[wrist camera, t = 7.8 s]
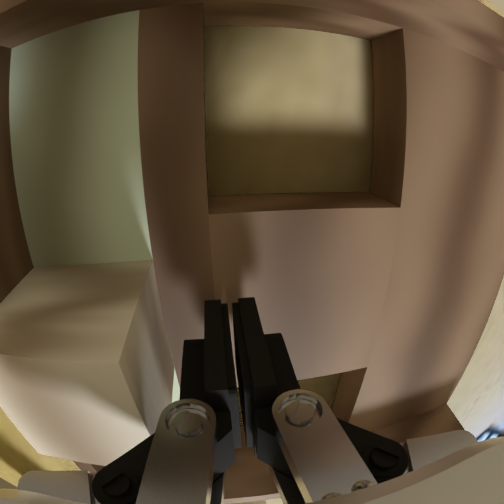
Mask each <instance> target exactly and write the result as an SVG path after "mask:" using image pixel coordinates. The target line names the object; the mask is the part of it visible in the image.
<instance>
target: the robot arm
mask: <svg viewBox="0 0 504 504" xmlns="http://www.w3.org/2000/svg"><path fill="white" fill-rule="evenodd" d="M232 313H233V331H234V347H235V363H236V372H237V380H238V388H239V396H240V403H241V410H242V418H243V425H244V432H245V439H246V445H247V447H254V453H255V455H257V459H259V460H261V461H262V462H264V463H266V464H268V465H269V470H270V472H271V475H272V477H273V480H274V482H275V485H276V487H277V489H278V492H279V494H280V497H281V499H282V501H283V504H504V437H497V438H492V439H487V440H484V441H481V442H477V440H476V438H475V437H474V435H472V434H471V433H470V432H468V431H465V430H455V431H450V432H446V433H441V434H436V435H430V436H425V437H419V438H412V439H406V441H405V442H404V443H398V442H396V441H394V440H392V439H389V438H386V437H383V436H381V435H378V434H375V433H373V432H370V431H368V430H365V429H362V428H360V427H357V426H355V425H353V424H350V423H348V422H345V421H343V420H341V419H338V418H336V417H335V415H334V414H333V412H332V410H331V409H330V407H329V406H328V404H327V402H326V401H325V400H324V399H323V398H322V397H321V396H320V395H318V394H317V393H315V392H312V391H309V390H303V389H300V387H299V384H298V381H297V378H296V375H295V372H294V369H293V366H292V363H291V360H290V357H289V354H288V351H287V348H286V345H285V342H284V339H283V336H282V334H281V333H272V334H264V332H263V329H262V325H261V321H260V317H259V313H258V309H257V305H256V301H255V298H254V297H248V298H238V302H237V303H232ZM235 448H242V445H241V433H240V420H239V406H238V393H237V383H236V374H235V366H234V358H233V349H232V341H231V332H230V323H229V313H228V304H227V303H223V304H221V299H219V300H205V304H204V339H190V340H184V344H183V355H182V368H181V383H180V399H179V400H178V401H175V402H173V403H171V404H169V405H168V406H167V407H166V408H165V409H164V410H163V411H162V413H161V415H160V417H159V420H158V424H157V427H156V431H155V433H153V434H152V435H151V436H149V437H148V438H146V439H145V440H144V441H142V442H141V443H139V444H138V445H136V446H135V447H133V448H132V449H131V450H129V451H128V452H126V453H125V454H123V455H122V456H120V457H119V458H117V459H116V460H114V461H113V462H111V463H110V464H108V465H107V466H105V467H103V468H102V469H101V470H100V471H99V472H97V473H90V472H89V471H88V470H85V471H37V470H34V471H28V472H26V473H25V474H23V475H22V477H21V478H20V479H19V483H18V490H16V489H0V504H223V502H224V491H225V480H226V470H227V469H228V468H229V467H230V466H231V465H232V464H233V463H234V462H235V461H236V456H235Z"/></svg>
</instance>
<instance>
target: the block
mask: <svg viewBox="0 0 504 504" xmlns="http://www.w3.org/2000/svg"><path fill="white" fill-rule="evenodd" d="M174 368H175V367H174V363H173V359H172V355H171V351H170V346H169V342H168V337H167V333H166V328H165V323H164V318H163V313H162V308H161V303H160V298H159V292H158V287H157V281H156V275H155V269H154V263H153V260H142V261H127V262H112V263H97V264H82V265H67V266H52V267H37V268H33V269H32V270H31V271H30V272H29V273H28V274H27V275H26V276H25V277H24V278H23V279H22V280H21V281H20V283H19V284H18V285H17V286H16V287H15V288H14V289H13V290H12V291H11V292H10V293H9V294H8V295H7V297H6V298H5V299H4V300H3V301H2V302H1V303H0V407H1V408H2V409H3V411H4V412H5V413H6V415H7V416H8V417H9V419H10V420H11V421H12V422H13V424H14V425H15V426H16V427H17V429H18V430H19V431H20V432H21V434H22V435H23V436H24V437H25V438H26V439H27V441H28V442H29V443H30V444H31V445H32V446H33V447H34V449H35V450H36V451H37V452H38V453H39V454H43V455H47V456H52V457H56V458H61V459H66V460H71V461H76V462H82V463H88V464H95V465H102V466H107V465H108V464H110V463H111V462H113V461H114V460H116V459H117V458H119V457H120V456H122V455H123V454H125V453H126V452H128V451H129V450H131V449H132V448H133V447H135V446H136V445H138V444H139V443H141V442H142V441H144V440H145V439H146V438H148V437H149V436H151V435H152V434H153V433H155V431H156V427H157V424H158V420H159V417H160V415H161V413H162V411H163V410H164V409H165V408H166V407H167V406H168V405H169V404H171V403H172V393H173V380H174Z"/></svg>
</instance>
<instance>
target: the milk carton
mask: <svg viewBox="0 0 504 504" xmlns="http://www.w3.org/2000/svg"><path fill="white" fill-rule="evenodd" d="M231 504H266V501H265V500H261V501H253V502H243V503H231Z"/></svg>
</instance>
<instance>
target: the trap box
mask: <svg viewBox="0 0 504 504" xmlns="http://www.w3.org/2000/svg"><path fill="white" fill-rule="evenodd" d="M227 25H247V26H273V27H287V28H298V29H308V30H316V31H323V32H330V33H336V34H342V35H348V36H353V37H358V38H363V39H368V40H371V42H372V59H373V89H374V123H373V155H372V173H371V188H370V192H321V193H279V194H254V195H233V196H216V197H209V195H208V176H207V154H206V127H205V90H204V26H227ZM142 260H153V263H154V269H155V275H156V281H157V287H158V292H159V298H160V303H161V308H162V313H163V318H164V323H165V328H166V333H167V337H168V342H169V346H170V351H171V355H172V359H173V363H174V367H175V368H174V380H173V393H172V403H173V402H175V401H178V400H179V399H180V383H181V368H182V355H183V344H184V340H190V339H204V304H205V300H219V299H221V304H223V303H227V304H228V313H229V323H230V332H231V341H232V349H233V358H234V366H235V374H236V383H237V388H238V380H237V372H236V363H235V347H234V331H233V313H232V303H237V302H238V298H248V297H254V298H255V301H256V305H257V309H258V313H259V317H260V321H261V325H262V329H263V332H264V334H272V333H281V334H282V336H283V339H284V342H285V345H286V348H287V351H288V354H289V357H290V360H291V363H292V366H293V369H294V372H295V375H296V378H297V380H303V379H309V378H315V377H321V376H326V375H332V374H337V373H341V376H340V380H339V384H338V388H337V392H336V396H335V399H334V403H333V407H332V412H333V414H334V415H335V417H336V418H338V419H341V420H343V421H345V422H348V423H350V424H353V425H355V426H357V427H360V428H362V429H365V430H368V431H370V432H373V433H375V434H378V435H381V436H383V437H386V438H389V439H392V440H394V441H396V442H398V443H404V442H405V441H406V439H412V438H419V437H425V436H430V435H436V434H441V433H446V432H450V431H455V430H464V428H463V427H462V425H461V424H460V422H459V421H458V420H457V418H456V417H455V415H454V414H453V412H452V411H451V409H450V408H449V407H448V405H447V404H446V403H447V402H448V400H449V398H450V397H451V395H452V393H453V391H454V390H455V388H456V386H457V384H458V382H459V381H460V379H461V377H462V375H463V373H464V371H465V369H466V367H467V365H468V363H469V361H470V359H471V357H472V355H473V353H474V351H475V349H476V346H477V344H478V342H479V340H480V338H481V335H482V333H483V331H484V328H485V326H486V323H487V321H488V318H489V316H490V313H491V311H492V308H493V305H494V303H495V300H496V297H497V294H498V291H499V288H500V285H501V282H502V279H503V276H504V18H503V17H502V16H500V15H499V14H497V13H496V12H494V11H493V10H491V9H490V8H488V7H487V6H485V5H484V4H482V3H480V2H479V1H477V0H0V303H1V302H2V301H3V300H4V299H5V298H6V297H7V295H8V294H9V293H10V292H11V291H12V290H13V289H14V288H15V287H16V286H17V285H18V284H19V283H20V281H21V280H22V279H23V278H24V277H25V276H26V275H27V274H28V273H29V272H30V271H31V270H32V269H33V268H37V267H52V266H67V265H82V264H97V263H112V262H127V261H142ZM240 433H241V445H242V448H235V456H236V461H235V462H234V463H233V464H232V465H231V466H230V467H229V468H228V469H227V470H226V480H225V491H224V502H223V504H231V503H243V502H253V501H261V500H269V499H275V498H281V497H280V494H279V492H278V489H277V487H276V485H275V482H274V480H273V477H272V475H271V472H270V470H269V465H268V464H266V463H264V462H262V461H261V460H259V459H257V455H255V453H254V447H247V445H246V439H245V432H244V426H240ZM74 462H75V464H76V465H77V466H78V467H79V468H80V469H81V470H82V471H85V470H88V471H89V472H90V473H97V472H99V471H100V470H101V469H102V468H103V467H105V466H102V465H95V464H88V463H82V462H76V461H74Z"/></svg>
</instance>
